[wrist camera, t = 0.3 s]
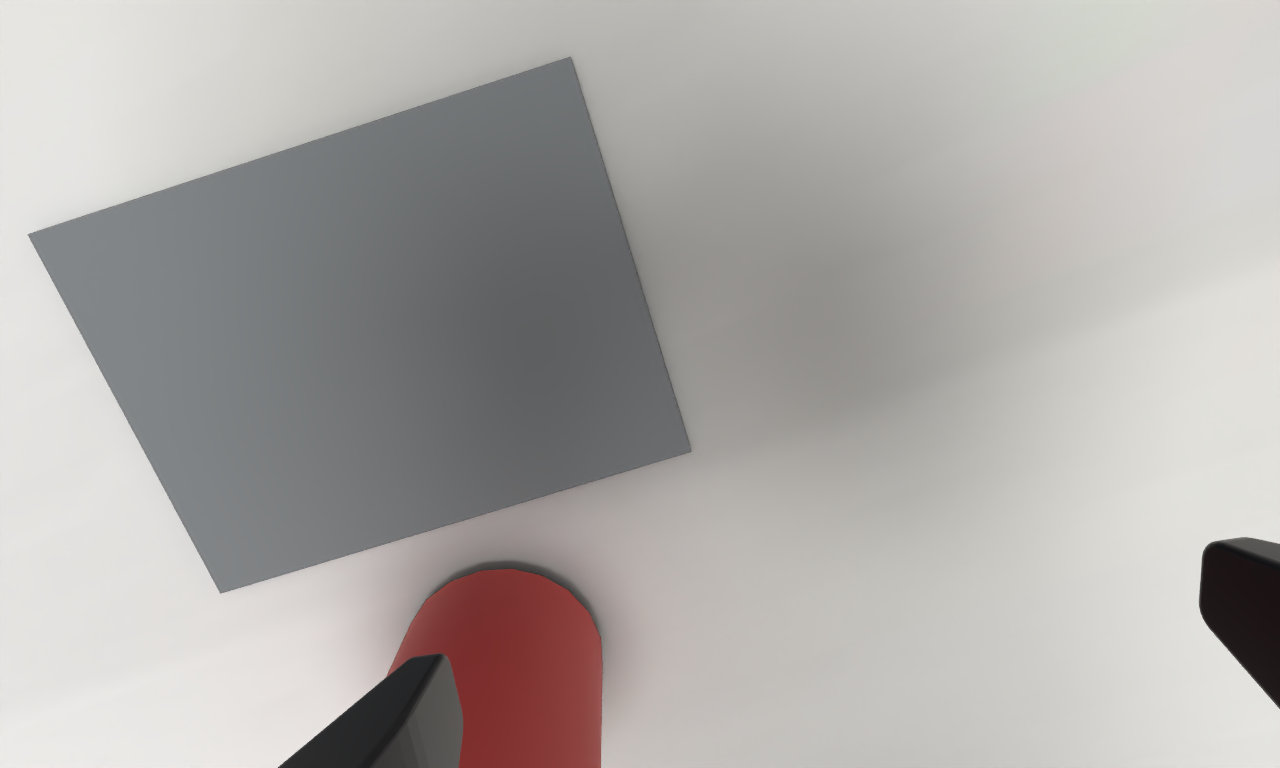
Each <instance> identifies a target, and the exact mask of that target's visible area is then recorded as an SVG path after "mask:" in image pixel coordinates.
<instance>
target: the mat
mask: <svg viewBox="0 0 1280 768" xmlns="http://www.w3.org/2000/svg"><path fill="white" fill-rule="evenodd" d="M28 236H29V238H30V240H31V242H32V244H33V245H34V247H35V249H36V251H37V253H38V255H39V257H40V258H41V260H42V262H43V264H44V266H45V268H46V270H47V272H48V273H49V275H50V277H51V279H52V281H53V283H54V285H55V286H56V288H57V290H58V292H59V294H60V296H61V298H62V299H63V301H64V303H65V305H66V307H67V309H68V311H69V312H70V314H71V316H72V318H73V320H74V322H75V324H76V326H77V327H78V329H79V331H80V333H81V335H82V337H83V339H84V340H85V342H86V344H87V346H88V348H89V350H90V352H91V353H92V355H93V357H94V359H95V361H96V363H97V365H98V366H99V368H100V370H101V372H102V374H103V376H104V378H105V380H106V381H107V383H108V385H109V387H110V389H111V391H112V393H113V394H114V396H115V398H116V400H117V402H118V404H119V406H120V407H121V409H122V411H123V413H124V415H125V417H126V419H127V420H128V422H129V424H130V426H131V428H132V430H133V432H134V434H135V435H136V437H137V439H138V441H139V443H140V445H141V447H142V448H143V450H144V452H145V454H146V456H147V458H148V460H149V461H150V463H151V465H152V467H153V469H154V471H155V473H156V474H157V476H158V478H159V480H160V482H161V484H162V486H163V488H164V489H165V491H166V493H167V495H168V497H169V499H170V501H171V502H172V504H173V506H174V508H175V510H176V512H177V514H178V515H179V517H180V519H181V521H182V523H183V525H184V527H185V528H186V530H187V532H188V534H189V536H190V538H191V540H192V542H193V543H194V545H195V547H196V549H197V551H198V553H199V555H200V556H201V558H202V560H203V562H204V564H205V566H206V568H207V569H208V571H209V573H210V575H211V577H212V579H213V581H214V582H215V584H216V586H217V588H218V590H219V592H220V594H221V593H224V592H227V591H231V590H234V589H237V588H241V587H244V586H247V585H251V584H254V583H257V582H261V581H264V580H267V579H271V578H274V577H277V576H281V575H284V574H287V573H291V572H294V571H297V570H300V569H304V568H307V567H310V566H314V565H317V564H320V563H324V562H327V561H330V560H334V559H337V558H340V557H344V556H347V555H350V554H354V553H357V552H360V551H364V550H367V549H370V548H373V547H377V546H380V545H383V544H387V543H390V542H393V541H397V540H400V539H403V538H407V537H410V536H413V535H417V534H420V533H423V532H427V531H430V530H433V529H437V528H440V527H443V526H446V525H450V524H453V523H456V522H460V521H463V520H466V519H470V518H473V517H476V516H480V515H483V514H486V513H490V512H493V511H496V510H500V509H503V508H506V507H510V506H513V505H516V504H520V503H523V502H526V501H529V500H533V499H536V498H539V497H543V496H546V495H549V494H553V493H556V492H559V491H563V490H566V489H569V488H573V487H576V486H579V485H583V484H586V483H589V482H593V481H596V480H599V479H602V478H606V477H609V476H612V475H616V474H619V473H622V472H626V471H629V470H632V469H636V468H639V467H642V466H646V465H649V464H652V463H656V462H659V461H662V460H666V459H669V458H672V457H675V456H679V455H682V454H685V453H689V452H691V449H690V446H689V442H688V439H687V436H686V432H685V429H684V426H683V423H682V419H681V416H680V413H679V410H678V406H677V403H676V400H675V397H674V393H673V390H672V387H671V383H670V380H669V377H668V374H667V370H666V367H665V364H664V361H663V357H662V354H661V351H660V348H659V344H658V341H657V338H656V334H655V331H654V328H653V325H652V321H651V318H650V315H649V312H648V308H647V305H646V302H645V299H644V295H643V292H642V289H641V285H640V282H639V279H638V276H637V272H636V269H635V266H634V263H633V259H632V256H631V253H630V249H629V246H628V243H627V240H626V236H625V233H624V230H623V227H622V223H621V220H620V217H619V214H618V210H617V207H616V204H615V200H614V197H613V194H612V191H611V187H610V184H609V181H608V178H607V174H606V171H605V168H604V165H603V161H602V158H601V155H600V151H599V148H598V145H597V142H596V138H595V135H594V132H593V129H592V125H591V122H590V119H589V116H588V112H587V109H586V106H585V102H584V99H583V96H582V93H581V89H580V86H579V83H578V80H577V76H576V73H575V70H574V67H573V63H572V60H571V57H568V58H565V59H562V60H559V61H556V62H553V63H550V64H547V65H544V66H541V67H538V68H534V69H531V70H528V71H525V72H522V73H519V74H516V75H513V76H510V77H507V78H504V79H501V80H498V81H495V82H492V83H489V84H486V85H483V86H479V87H476V88H473V89H470V90H467V91H464V92H461V93H458V94H455V95H452V96H449V97H446V98H443V99H440V100H437V101H434V102H431V103H428V104H424V105H421V106H418V107H415V108H412V109H409V110H406V111H403V112H400V113H397V114H394V115H391V116H388V117H385V118H382V119H379V120H376V121H373V122H369V123H366V124H363V125H360V126H357V127H354V128H351V129H348V130H345V131H342V132H339V133H336V134H333V135H330V136H327V137H324V138H321V139H318V140H314V141H311V142H308V143H305V144H302V145H299V146H296V147H293V148H290V149H287V150H284V151H281V152H278V153H275V154H272V155H269V156H266V157H263V158H259V159H256V160H253V161H250V162H247V163H244V164H241V165H238V166H235V167H232V168H229V169H226V170H223V171H220V172H217V173H214V174H211V175H208V176H204V177H201V178H198V179H195V180H192V181H189V182H186V183H183V184H180V185H177V186H174V187H171V188H168V189H165V190H162V191H159V192H156V193H153V194H150V195H146V196H143V197H140V198H137V199H134V200H131V201H128V202H125V203H122V204H119V205H116V206H113V207H110V208H107V209H104V210H101V211H98V212H95V213H91V214H88V215H85V216H82V217H79V218H76V219H73V220H70V221H67V222H64V223H61V224H58V225H55V226H52V227H49V228H46V229H43V230H40V231H36V232H33V233H30V234H28Z"/></svg>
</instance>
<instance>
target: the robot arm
mask: <svg viewBox="0 0 1280 768" xmlns="http://www.w3.org/2000/svg"><path fill="white" fill-rule="evenodd" d="M1199 607H1200V612H1201V615H1202V617H1203V619H1204V621H1205V623H1206V624H1207V626H1208V627H1209V628H1210V630H1211V631H1212V632H1213V633H1214V634H1215V635H1216V637H1217V638H1218V639H1219V640H1220V641H1221V642H1222V643H1223V645H1224V646H1225V647H1226V648H1227V649H1228V650H1229V651H1230V653H1231V654H1232V655H1233V656H1234V657H1235V658H1236V659H1237V661H1238V662H1239V663H1240V664H1241V665H1242V666H1243V667H1244V669H1245V670H1246V671H1247V672H1248V673H1249V674H1250V675H1251V677H1252V678H1253V679H1254V680H1255V681H1256V682H1257V683H1258V685H1259V686H1260V687H1261V688H1262V689H1263V690H1264V691H1265V693H1266V694H1267V695H1268V696H1269V697H1270V698H1271V699H1272V701H1273V702H1274V703H1275V704H1276V705H1277V706H1278V707H1279V709H1280V544H1277V543H1273V542H1268V541H1263V540H1259V539H1254V538H1248V537H1241V538H1234V539H1227V540H1220V541H1215V542H1211V543H1210V544H1209V545H1207V546H1206V548H1205V549H1204V551H1203V555H1202V567H1201V581H1200V595H1199ZM462 737H463V714H462V709H461V705H460V700H459V696H458V692H457V688H456V684H455V680H454V676H453V671H452V667H451V664H450V661H449V659H448V657H447V656H446V655H445V654H443V653H436V654H429V655H422V656H415V657H412V658H410V659H408V660H407V661H406V662H404V663H403V664H402V665H401V666H399V667H398V668H397V669H396V670H395V671H393V672H392V673H391V674H390V675H389V676H387V677H386V678H385V679H384V680H383V681H381V682H380V683H379V684H378V685H377V686H375V687H374V688H373V689H372V690H371V691H369V692H368V693H367V694H366V695H365V696H363V697H362V698H361V699H360V700H359V701H357V702H356V703H355V704H354V705H353V706H351V707H350V708H349V709H348V710H347V711H345V712H344V713H343V714H342V715H341V716H339V717H338V718H337V719H336V720H335V721H333V722H332V723H331V724H330V725H329V726H327V727H326V728H325V729H324V730H323V731H321V732H320V733H319V734H318V735H316V736H315V737H314V738H313V739H312V740H310V741H309V742H308V743H307V744H306V745H304V746H303V747H302V748H301V749H300V750H298V751H297V752H296V753H295V754H294V755H292V756H291V757H290V758H289V759H288V760H286V761H285V762H284V763H283V764H282V765H280V766H279V767H278V768H458V767H459V760H460V752H461V744H462Z"/></svg>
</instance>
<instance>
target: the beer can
mask: <svg viewBox="0 0 1280 768" xmlns="http://www.w3.org/2000/svg"><path fill="white" fill-rule="evenodd" d="M436 653H443V654H445V655H446V656H447V657H448V659H449V661H450V664H451V667H452V671H453V676H454V680H455V684H456V688H457V692H458V696H459V700H460V705H461V709H462V714H463V737H462V744H461V752H460V760H459V767H458V768H601V725H602V649H601V637H600V635H599V633H598V631H597V628H596V626H595V624H594V622H593V619H592V617H591V615H590V613H589V612H588V611H587V610H586V609H585V607H584V606H583V605H582V604H581V603H580V602H579V601H578V600H577V599H576V598H575V597H574V596H573V595H572V594H571V593H570V592H569V590H567V589H565V588H564V587H562V586H560V585H558V584H556V583H555V582H553V581H551V580H549V579H547V578H546V577H544V576H542V575H537V574H533V573H528V572H524V571H520V570H515V569H500V570H482V571H479V572H476V573H473V574H470V575H467V576H465V577H462V578H459V579H456V580H453V581H451V582H449V583H448V584H447V585H445V586H444V587H443V588H441V589H440V590H439V591H437V592H436V593H435V594H434V595H432V596H431V597H430V598H428V599H427V600H426V601H425V603H424V604H423V606H422V607H421V609H420V610H419V612H418V613H417V615H416V616H415V618H414V619H413V621H412V622H411V624H410V626H409V628H408V631H407V633H406V635H405V637H404V639H403V642H402V644H401V646H400V648H399V650H398V653H397V655H396V657H395V659H394V661H393V663H392V666H391V668H390V670H389V672H388V674H387V676H389V675H390V674H391V673H392V672H393V671H395V670H396V669H397V668H398V667H399V666H401V665H402V664H403V663H404V662H406V661H407V660H408V659H410V658H412V657H415V656H422V655H429V654H436Z"/></svg>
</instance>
